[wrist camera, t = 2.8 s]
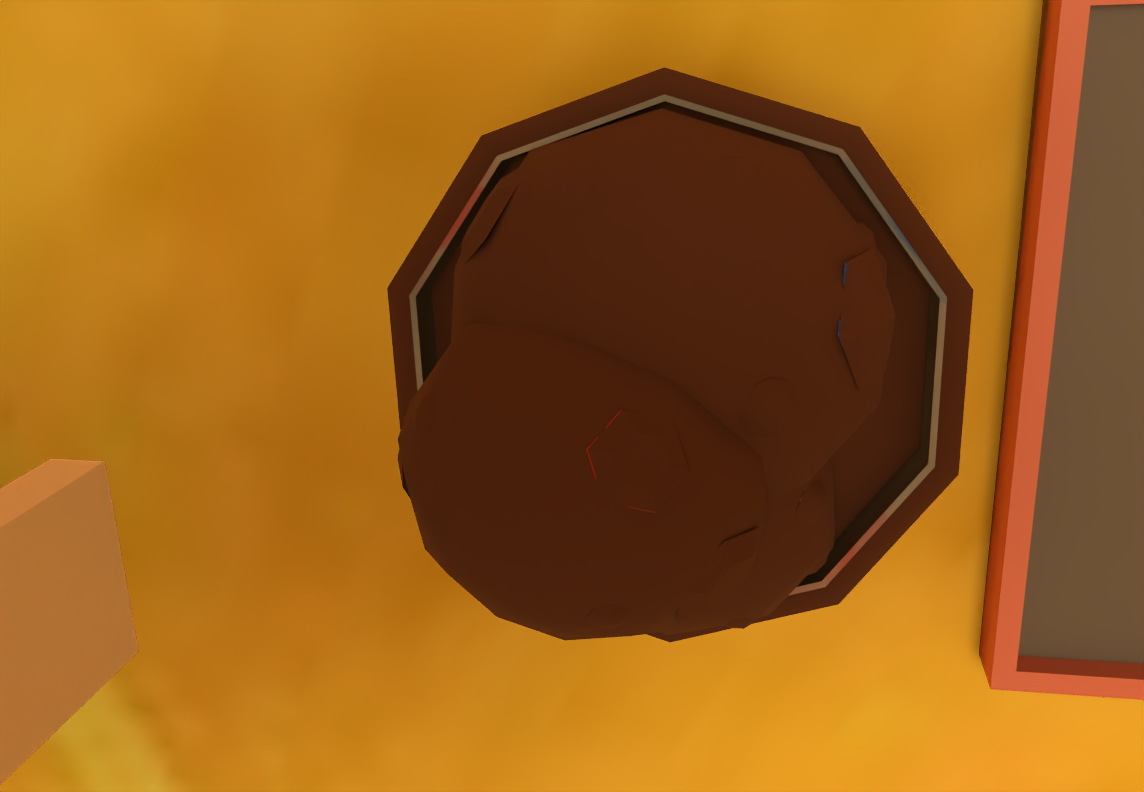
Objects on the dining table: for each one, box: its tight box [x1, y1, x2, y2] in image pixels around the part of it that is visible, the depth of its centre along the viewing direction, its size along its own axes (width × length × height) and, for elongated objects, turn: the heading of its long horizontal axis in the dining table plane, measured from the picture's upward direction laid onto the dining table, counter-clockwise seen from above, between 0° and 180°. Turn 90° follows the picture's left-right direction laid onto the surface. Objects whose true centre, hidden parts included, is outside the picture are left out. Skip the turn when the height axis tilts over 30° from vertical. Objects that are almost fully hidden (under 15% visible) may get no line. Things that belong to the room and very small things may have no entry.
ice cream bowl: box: [387, 68, 973, 642], centre depth 22 cm, size 11×11×15 cm
